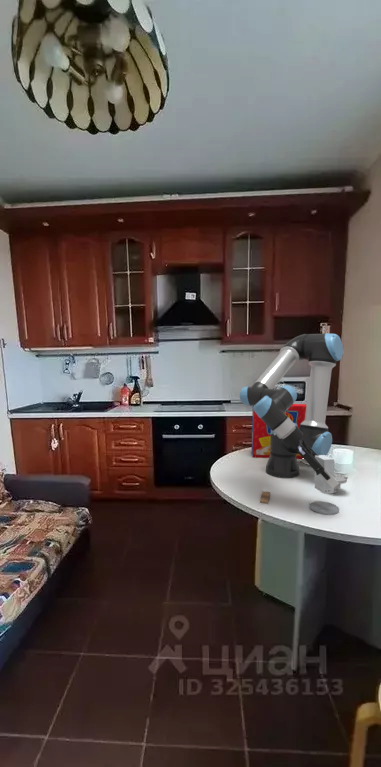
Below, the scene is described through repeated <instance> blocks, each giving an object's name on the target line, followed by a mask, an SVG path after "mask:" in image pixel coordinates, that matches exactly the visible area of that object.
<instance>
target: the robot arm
mask: <svg viewBox="0 0 381 767" xmlns="http://www.w3.org/2000/svg"><path fill="white" fill-rule="evenodd" d="M343 347H344V346H343V342H342V340H341V337H340V336H339V335H338V334H336V333H328V332H327V333H303V334H300V335H298V336H295V337H294V338H292V339H290V340H289V341H288V342H287V343H286V344H284V345H283V346H282V347H281V349H280V350H279V353H278V355H277V356H276V358H274V360H273V361H272V362H271V363H270V364H269V365H268V367H266V369H265V370H264V371H263V373H262V374H261V375H260V376H258V378H257V380H255V381H254V383H253V384H252V385H251V386H249V385H248V386H244V387H242V388H241V390H240V391H239V400H240V402H241V403H242V404H243V405H247V406H250V407H252V411H253V410H254V411H255V413H256V414H257V415H258V416H259V418H261V419H262V421H263V422H264V423H265V424H266V425H267V426H268V427H269V428H270V429H271V433H270V434H271V440H270V457H269V458H268V460H267V462H266V463H267V464H266V466H265V473H267V474H268V475H270V476H272V477H276V478H283V479H284V478H288V479H291V478H296V477H298V476H299V475H300V471H301V470H300V469H301V468H300V466H299V463H298V459H296V454H300V455H301V456H302V457H303V458H304V459H303V460H304V461H305V462H306V463H307V464H308V465H309V466H310V467H311V468H312V470H313V471H314V473H315V472H316V473H317V474H316V475H320V476H321V477H322V478H323V479H324V480H325V481H326V482H327V483H328V484H329V485H330V486H331V487H332V488H334V487H335V486H337V485H338V484H339V483H338V482H337V481H336V480H335V479H334V478H335V477H337V476H336V475H335V474H334V478H333V476H332V475H331V474H330V473H329V472H328V471H327V470H326V469H324V468H323V467H322V466H321V464H320V463H319V462H318V461H317V460H316V459H315V456H317V455H326V456H328V453H330V451H331V447H332V444H333V435H332V433H331V432H329V426H328V425H327V424H326V417H327V409H328V404H329V403H328V401H329V393H330V385H331V378H332V370H333V368H334V367H336V366H337V362H338V361H341V360H342V357H343V355H344V348H343ZM304 360H307V361H308V362H307V363H308V365H309V366H310V375H309V382H308V390H307V398H306V403H305V404H306V412H305V420H304V421H303V422H302V423H301V424H300V428H299V427H297V424H296V423H293V422H292V421H291V420H290V419H289V417H287V416H286V414H285V412H286V411H287V409H288V408H289V407H290V406H292V405H293V404H295V402H296V400H297V397H298V394H297V391H296V390H295V388H294V387H293V386H291V385H287V384H286V385H283V386H281V387H279V389H277V388H276V386H277V385H278V384H279V382H280V381H281V380H282V379H283V377H284V376H285V375H286V374H287V373H288V371H289V370H290V369H291V368H292V366H293V365H296V364H297V363H299V362H300V361H304ZM253 406H254V407H253Z"/></svg>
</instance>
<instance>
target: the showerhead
mask: <svg viewBox="0 0 381 767" xmlns="http://www.w3.org/2000/svg"><path fill="white" fill-rule="evenodd" d="M334 474H335V475H336V476H337V477H335V478H334V479H335V480H336V481H337V482H338V483H339V484H338V485H337V486H335V487H334V493H335V494H336V493H337V492H338V491H337V490H339V489H341V485H343V484H346V483H347V482H348V479H349V477H348V476H346V475H343V474H341V473H338V472H337V473H336V472H334ZM334 493H333V494H334Z"/></svg>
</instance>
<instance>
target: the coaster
mask: <svg viewBox="0 0 381 767" xmlns="http://www.w3.org/2000/svg"><path fill="white" fill-rule="evenodd" d="M308 508H309V509H310V510H311V511H312V512H314V513H317V514H321V515H328V516H329V515H332V516H333V515H336V514H338V513H340V512H339V511H340V508H339V506H337V505H336V504H334V503H332V502H328V501H322V500H321V501H320V500H317V501H316V500H315V501H311V502H309V507H308Z"/></svg>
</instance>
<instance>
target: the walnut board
mask: <svg viewBox="0 0 381 767" xmlns="http://www.w3.org/2000/svg"><path fill="white" fill-rule="evenodd" d="M270 496H271V491H265V490H262V491H261V495H260V499H259V504H267V505H269V501H270Z"/></svg>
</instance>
